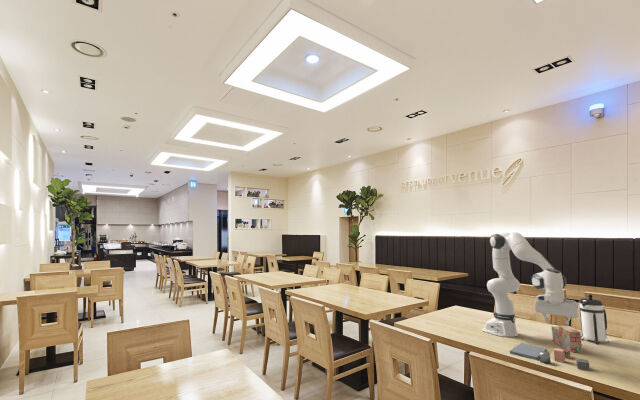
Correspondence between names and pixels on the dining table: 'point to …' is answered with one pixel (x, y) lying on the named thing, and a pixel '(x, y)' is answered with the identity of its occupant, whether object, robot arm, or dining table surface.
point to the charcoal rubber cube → (583, 364)
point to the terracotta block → (559, 355)
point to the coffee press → (593, 319)
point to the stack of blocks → (567, 338)
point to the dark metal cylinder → (544, 357)
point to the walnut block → (566, 352)
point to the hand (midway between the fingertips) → (556, 322)
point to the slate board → (527, 351)
